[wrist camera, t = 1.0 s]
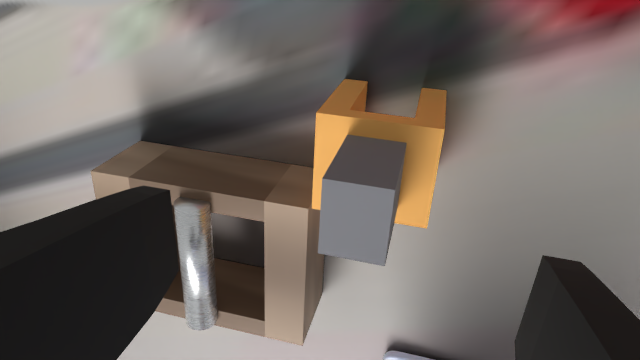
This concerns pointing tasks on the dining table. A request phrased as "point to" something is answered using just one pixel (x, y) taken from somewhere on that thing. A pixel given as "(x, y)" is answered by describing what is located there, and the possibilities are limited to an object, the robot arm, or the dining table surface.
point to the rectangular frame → (197, 240)
